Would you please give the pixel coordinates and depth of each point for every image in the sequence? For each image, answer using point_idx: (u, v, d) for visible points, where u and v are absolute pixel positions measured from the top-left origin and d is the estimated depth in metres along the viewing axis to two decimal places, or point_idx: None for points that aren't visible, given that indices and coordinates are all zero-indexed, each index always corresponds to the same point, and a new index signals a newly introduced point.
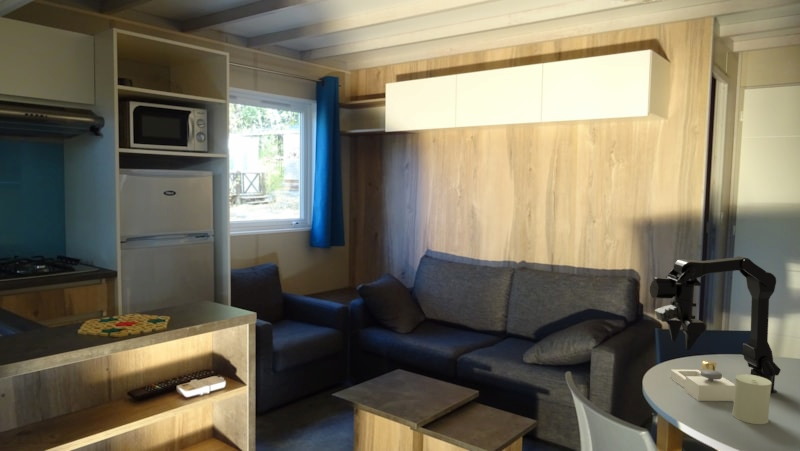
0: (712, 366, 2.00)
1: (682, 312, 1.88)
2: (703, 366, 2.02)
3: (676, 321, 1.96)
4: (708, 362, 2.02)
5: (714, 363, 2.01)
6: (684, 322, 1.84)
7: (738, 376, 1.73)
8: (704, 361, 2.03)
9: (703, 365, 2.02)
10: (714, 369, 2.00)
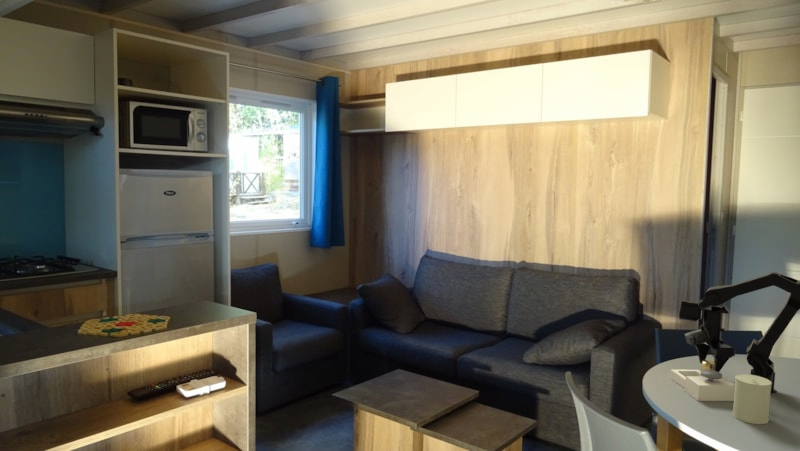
0: (712, 366, 2.00)
1: (711, 337, 1.99)
2: (703, 366, 2.02)
3: (704, 344, 2.07)
4: (708, 362, 2.02)
5: None
6: (713, 347, 1.95)
7: (738, 376, 1.73)
8: (704, 361, 2.03)
9: (703, 365, 2.02)
10: (714, 369, 2.00)
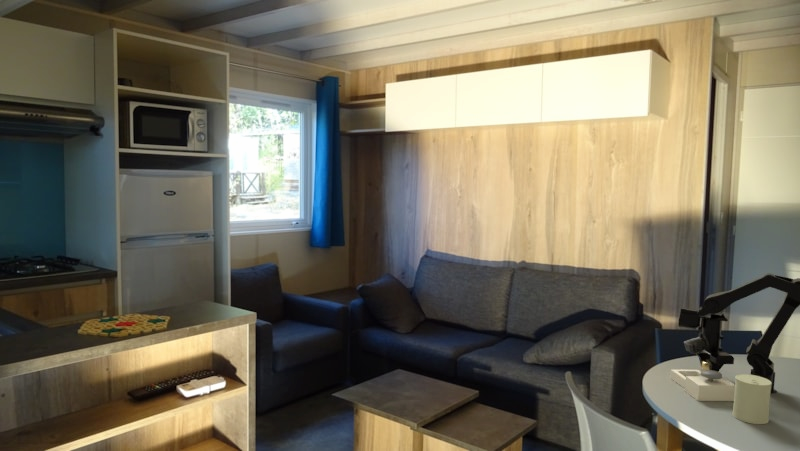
0: None
1: (710, 345, 1.99)
2: (703, 366, 2.02)
3: (707, 354, 2.05)
4: (708, 362, 2.02)
5: None
6: (712, 355, 1.95)
7: (738, 376, 1.73)
8: (704, 361, 2.03)
9: (703, 365, 2.02)
10: None
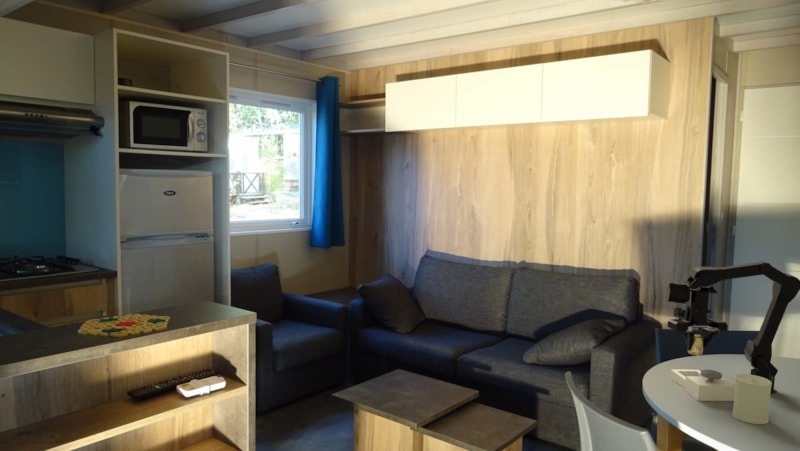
0: None
1: (689, 315, 1.98)
2: None
3: (706, 331, 1.97)
4: (695, 335, 1.98)
5: (695, 337, 1.96)
6: None
7: (738, 376, 1.73)
8: (696, 335, 1.99)
9: None
10: None
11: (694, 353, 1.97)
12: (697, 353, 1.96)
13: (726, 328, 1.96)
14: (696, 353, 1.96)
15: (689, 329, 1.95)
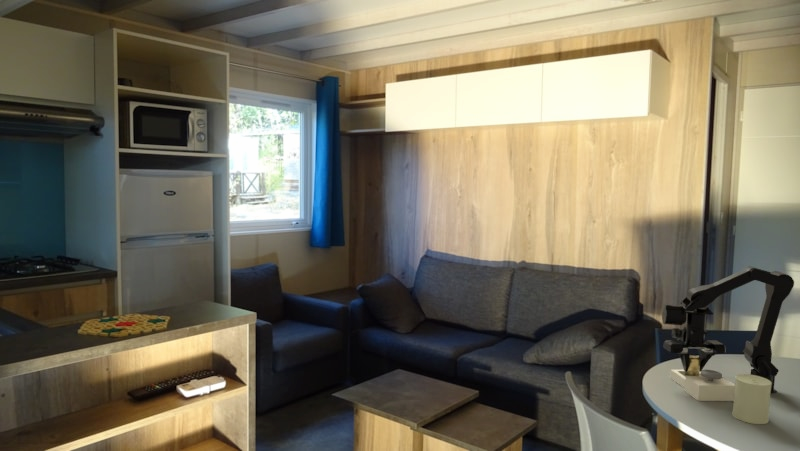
0: None
1: (685, 336, 1.98)
2: None
3: (703, 353, 1.97)
4: (692, 357, 1.98)
5: (692, 358, 1.96)
6: None
7: (738, 376, 1.73)
8: (694, 356, 1.99)
9: None
10: None
11: (690, 374, 1.96)
12: (693, 375, 1.96)
13: (723, 350, 1.94)
14: (692, 374, 1.96)
15: (684, 350, 1.95)
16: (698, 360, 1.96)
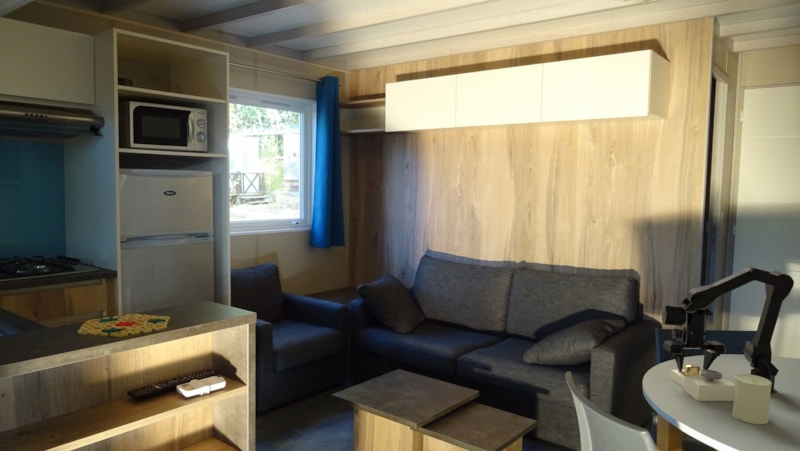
0: (685, 368, 1.98)
1: (685, 336, 1.98)
2: None
3: (708, 353, 1.97)
4: (691, 365, 1.98)
5: (691, 367, 1.97)
6: None
7: (738, 376, 1.73)
8: (693, 364, 1.99)
9: None
10: (687, 372, 1.97)
11: None
12: None
13: (723, 351, 1.94)
14: None
15: None
16: (697, 369, 1.96)
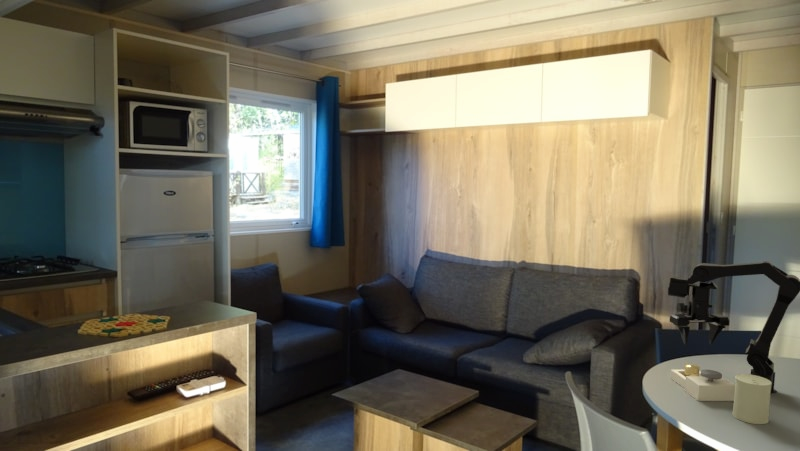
0: (685, 368, 1.98)
1: (690, 310, 2.04)
2: None
3: (714, 326, 2.03)
4: (691, 365, 1.98)
5: (691, 367, 1.97)
6: None
7: (738, 376, 1.73)
8: (693, 364, 1.99)
9: None
10: (687, 372, 1.97)
11: None
12: None
13: (728, 323, 2.00)
14: None
15: None
16: (697, 368, 1.96)
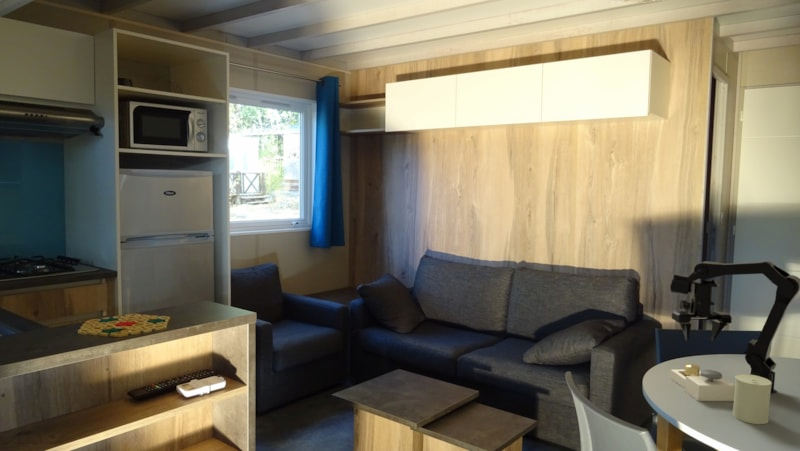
0: (685, 368, 1.98)
1: (693, 307, 2.07)
2: None
3: (716, 323, 2.05)
4: (691, 365, 1.98)
5: (691, 367, 1.97)
6: None
7: (738, 376, 1.73)
8: (693, 364, 1.99)
9: None
10: (687, 372, 1.97)
11: None
12: None
13: (730, 320, 2.03)
14: None
15: None
16: (697, 369, 1.96)
